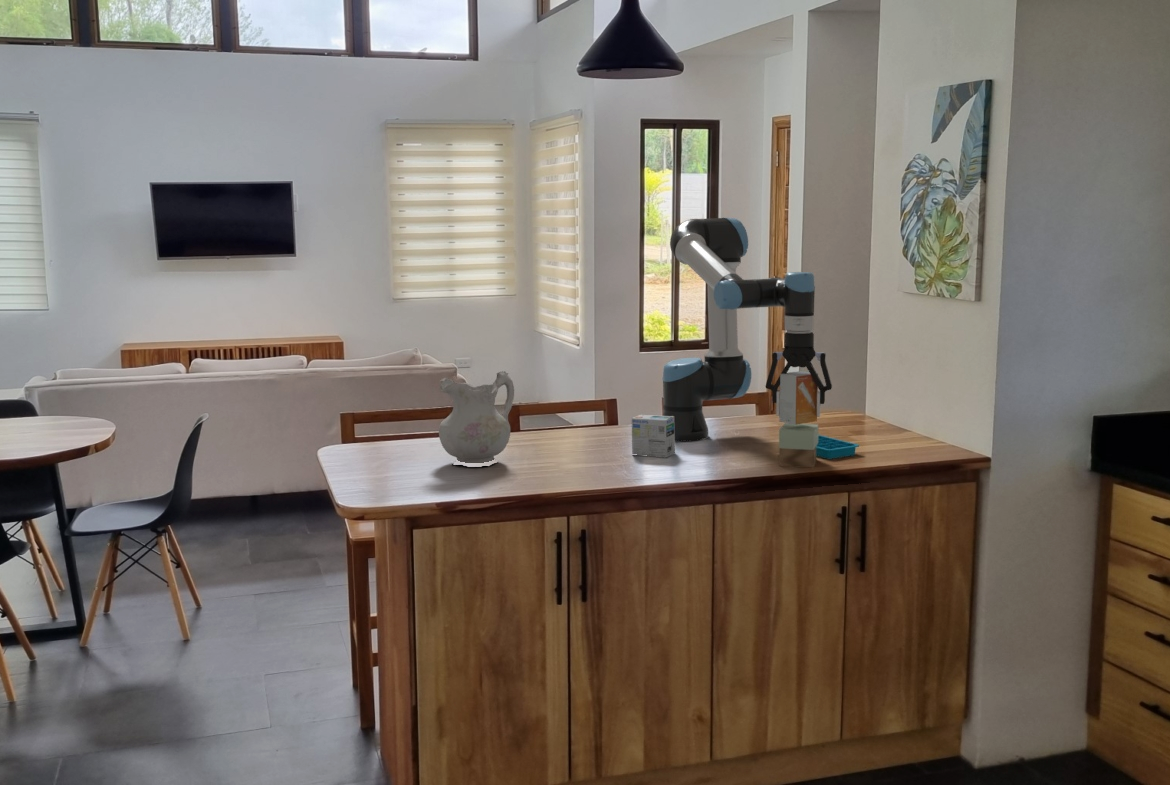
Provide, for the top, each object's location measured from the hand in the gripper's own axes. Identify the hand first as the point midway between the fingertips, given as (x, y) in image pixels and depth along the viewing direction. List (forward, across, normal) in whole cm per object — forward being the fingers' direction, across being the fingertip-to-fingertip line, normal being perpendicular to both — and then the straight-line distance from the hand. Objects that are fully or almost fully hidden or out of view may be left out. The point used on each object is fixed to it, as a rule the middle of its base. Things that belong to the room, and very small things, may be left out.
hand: (798, 415), depth 286 cm
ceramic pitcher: (+13, -85, -14) cm, 87 cm away
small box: (+2, 0, 0) cm, 2 cm away
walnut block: (+13, 0, 0) cm, 13 cm away
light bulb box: (+13, -40, +4) cm, 42 cm away
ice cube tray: (+13, +5, +16) cm, 21 cm away
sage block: (+8, 0, 0) cm, 8 cm away
